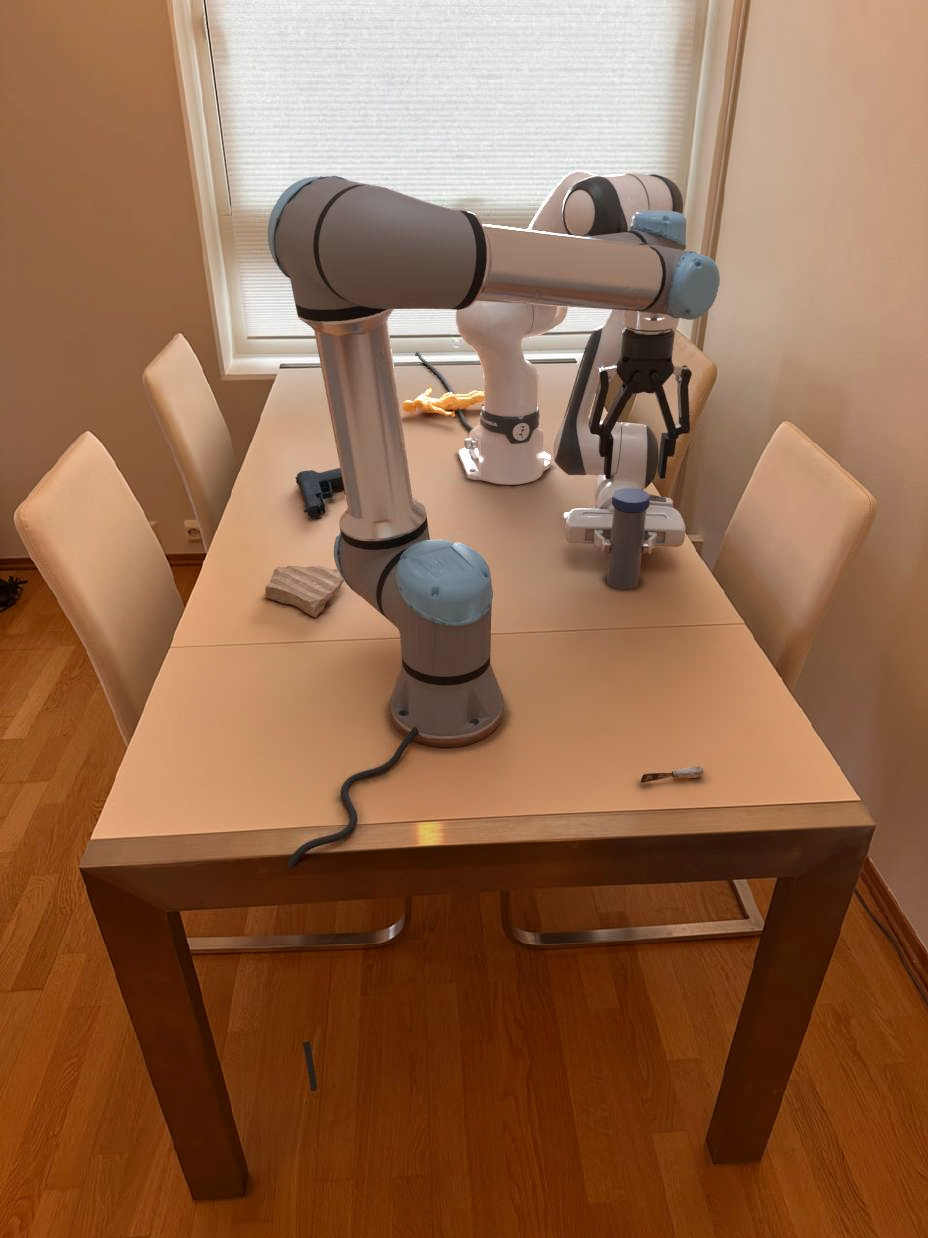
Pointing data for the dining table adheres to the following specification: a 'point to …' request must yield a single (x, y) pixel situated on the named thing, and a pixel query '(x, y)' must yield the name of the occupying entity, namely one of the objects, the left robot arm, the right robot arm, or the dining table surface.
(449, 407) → the human figure
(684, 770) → the putty knife
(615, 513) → the grey tall cylinder
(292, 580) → the stone
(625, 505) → the lid
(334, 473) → the handgun
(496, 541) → the dining table surface
